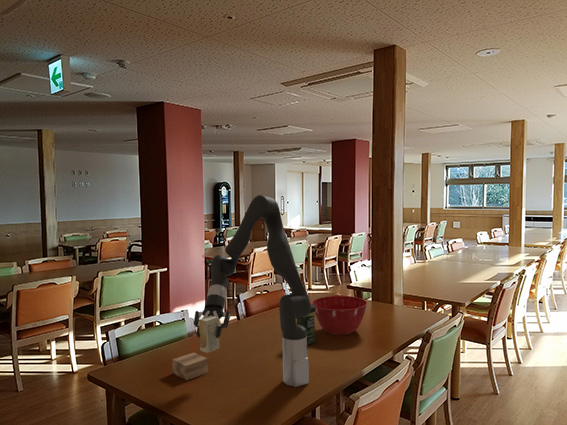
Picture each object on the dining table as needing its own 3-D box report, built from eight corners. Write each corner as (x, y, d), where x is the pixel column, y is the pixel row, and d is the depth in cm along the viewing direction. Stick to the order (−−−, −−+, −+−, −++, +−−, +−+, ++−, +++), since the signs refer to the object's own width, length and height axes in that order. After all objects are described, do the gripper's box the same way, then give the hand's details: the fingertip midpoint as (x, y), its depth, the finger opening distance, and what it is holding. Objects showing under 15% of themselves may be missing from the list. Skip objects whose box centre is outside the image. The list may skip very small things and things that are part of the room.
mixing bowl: (338, 344, 199) (338, 312, 198) (301, 330, 222) (300, 301, 221) (379, 332, 216) (378, 302, 215) (340, 320, 239) (339, 293, 238)
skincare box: (212, 346, 164) (211, 315, 164) (219, 348, 162) (218, 316, 161) (199, 351, 159) (198, 319, 159) (206, 353, 157) (205, 320, 156)
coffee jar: (304, 347, 196) (303, 307, 196) (293, 343, 202) (292, 304, 202) (319, 342, 203) (318, 303, 202) (307, 338, 209) (306, 301, 208)
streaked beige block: (208, 373, 170) (207, 358, 170) (186, 381, 163) (186, 365, 162) (194, 366, 177) (193, 352, 177) (172, 374, 170) (172, 359, 170)
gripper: (196, 293, 168) (186, 332, 157) (231, 293, 166) (224, 332, 155) (201, 303, 174) (192, 341, 162) (235, 303, 172) (228, 342, 160)
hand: (207, 336), depth 159 cm, fingers closed on skincare box, 6 cm apart
